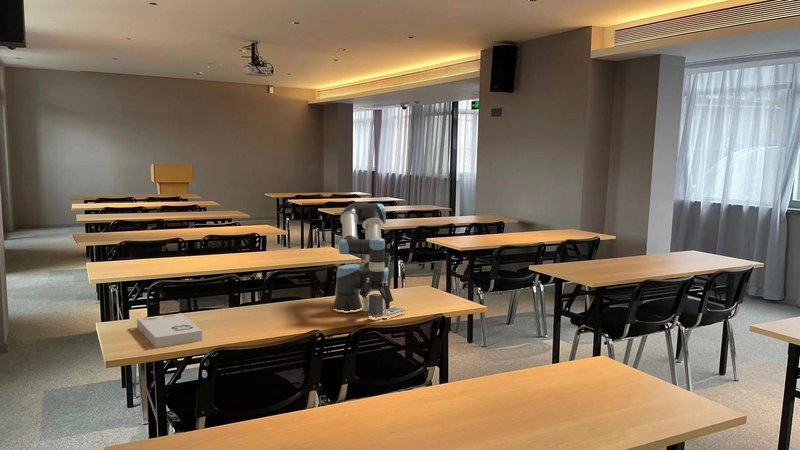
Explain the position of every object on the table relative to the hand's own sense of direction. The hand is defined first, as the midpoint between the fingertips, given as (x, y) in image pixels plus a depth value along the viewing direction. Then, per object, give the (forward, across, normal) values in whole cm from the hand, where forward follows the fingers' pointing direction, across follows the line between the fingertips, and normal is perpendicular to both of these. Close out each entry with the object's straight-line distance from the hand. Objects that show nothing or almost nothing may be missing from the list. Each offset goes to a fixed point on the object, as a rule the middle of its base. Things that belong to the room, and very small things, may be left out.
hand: (375, 312), depth 285 cm
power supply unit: (+4, -48, -81) cm, 94 cm away
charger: (+3, 0, 0) cm, 3 cm away
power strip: (+3, 0, +10) cm, 11 cm away
